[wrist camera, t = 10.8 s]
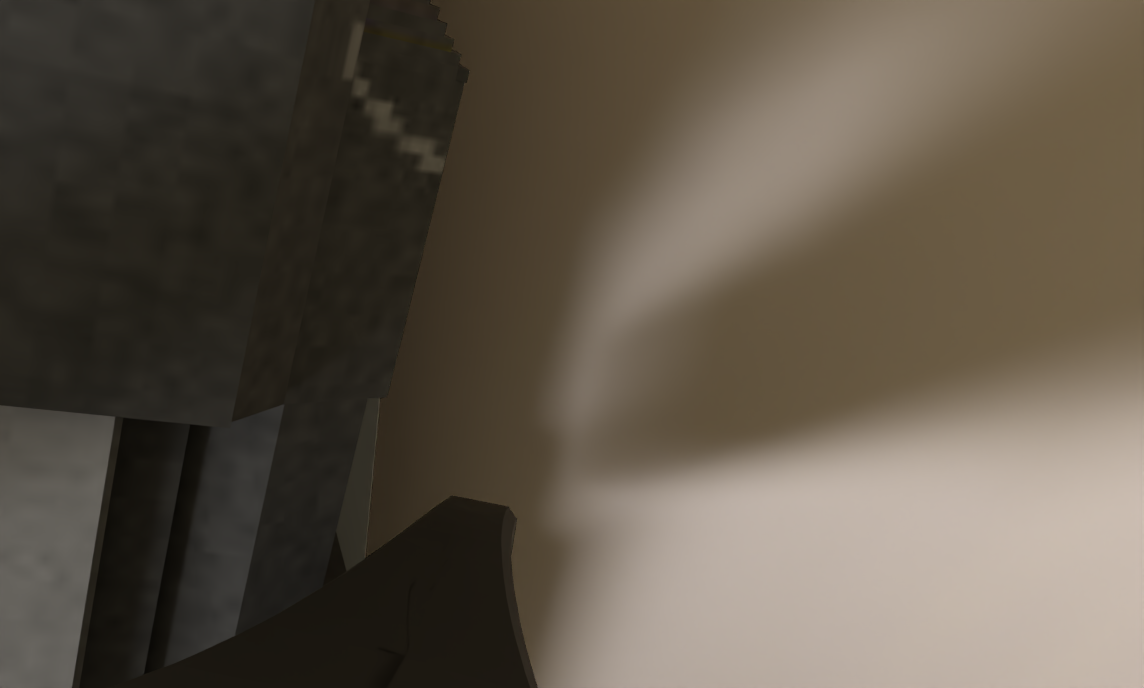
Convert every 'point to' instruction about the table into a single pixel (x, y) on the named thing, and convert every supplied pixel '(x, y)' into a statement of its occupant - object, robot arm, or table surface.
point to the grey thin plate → (359, 491)
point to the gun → (197, 306)
